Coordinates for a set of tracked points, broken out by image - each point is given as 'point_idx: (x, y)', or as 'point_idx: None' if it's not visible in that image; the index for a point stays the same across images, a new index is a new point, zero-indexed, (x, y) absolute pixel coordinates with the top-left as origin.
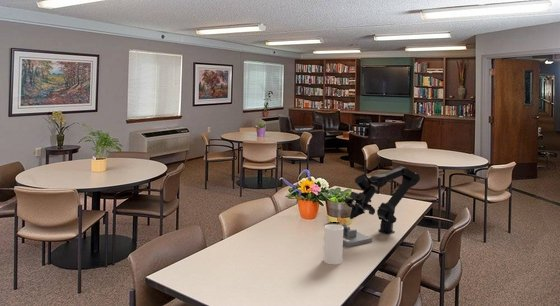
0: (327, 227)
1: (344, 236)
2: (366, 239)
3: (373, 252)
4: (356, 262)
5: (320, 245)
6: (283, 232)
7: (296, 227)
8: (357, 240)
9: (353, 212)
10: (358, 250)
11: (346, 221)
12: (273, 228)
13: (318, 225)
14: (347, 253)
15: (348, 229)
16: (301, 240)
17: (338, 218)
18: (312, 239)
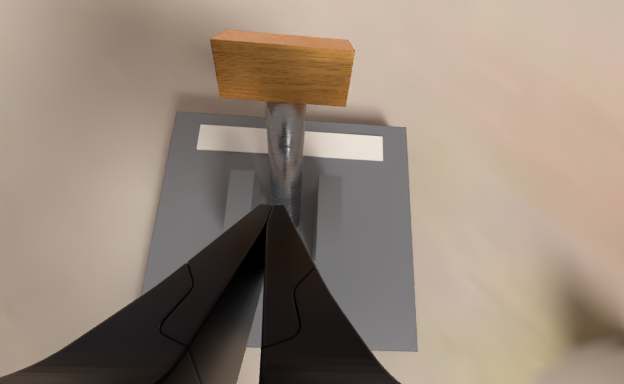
0: None
1: None
2: (145, 277)
3: (26, 185)
4: (21, 17)
5: (297, 32)
6: (541, 12)
7: (599, 107)
8: (172, 199)
9: (226, 267)
10: (114, 136)
11: (219, 89)
12: (613, 10)
13: (601, 246)
14: (129, 61)
15: (271, 198)
16: (402, 8)
17: (326, 42)
18: (389, 55)
